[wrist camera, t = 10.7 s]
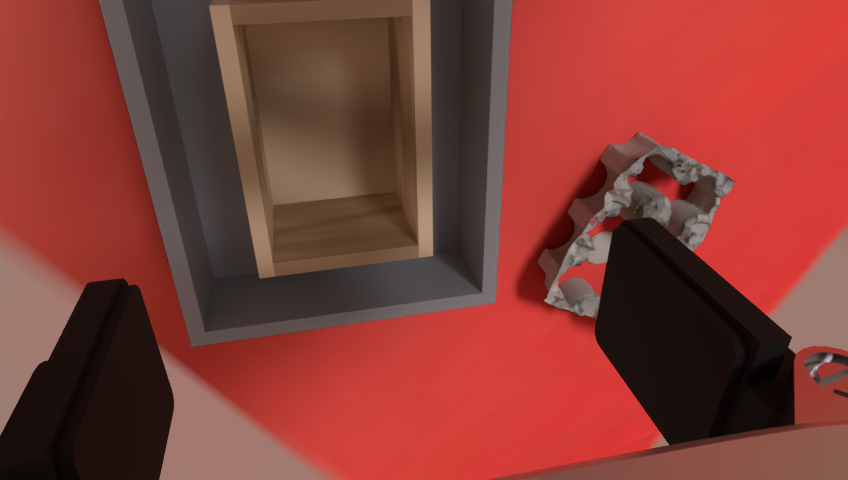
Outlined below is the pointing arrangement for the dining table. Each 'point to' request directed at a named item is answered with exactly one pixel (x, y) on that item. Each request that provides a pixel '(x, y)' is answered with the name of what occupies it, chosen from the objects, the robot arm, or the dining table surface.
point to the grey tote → (224, 198)
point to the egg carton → (631, 214)
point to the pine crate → (330, 128)
